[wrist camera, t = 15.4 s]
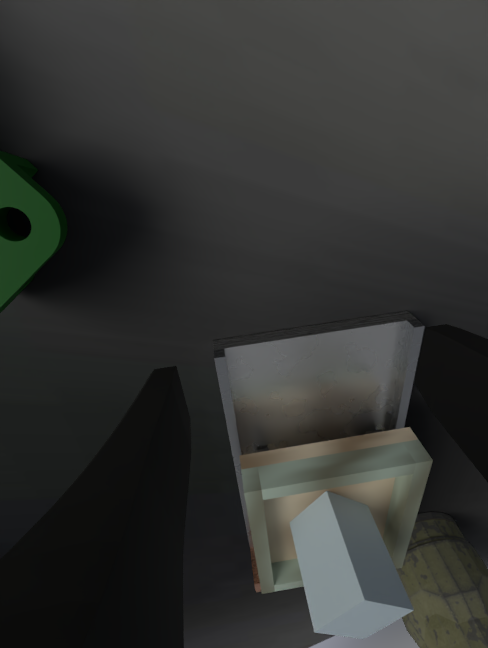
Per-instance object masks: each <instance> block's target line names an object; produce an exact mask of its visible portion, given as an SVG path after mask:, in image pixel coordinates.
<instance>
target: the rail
mask: <svg viewBox="0 0 488 648" xmlns="http://www.w3.org/2000/svg"><path fill="white" fill-rule="evenodd" d="M424 327H425V326H424V325H423V324H422V323H421V322H420V321H419V320H417V319H416V318H415V317H414V316H413V315H412V314H411V313H410V312H408V311H404V312H398V313H391V314H385V315H378V316H371V317H365V318H358V319H352V320H345V321H338V322H332V323H325V324H319V325H312V326H305V327H299V328H292V329H286V330H279V331H273V332H266V333H259V334H253V335H246V336H240V337H233V338H226V339H220V340H213V345H214V359H215V364H216V370H217V375H218V380H219V386H220V391H221V396H222V402H223V407H224V412H225V417H226V423H227V428H228V433H229V439H230V444H231V449H232V455H233V460H234V465H235V470H236V476H237V481H238V486H239V492H240V497H241V502H242V508H243V513H244V518H245V523H246V529H247V534H248V539H249V545H250V551H251V559H252V568H253V576H254V584H255V589H256V592H260V591H261V586H260V580H259V575H258V569H257V563H256V558H255V552H254V546H253V541H252V535H251V530H250V524H249V518H248V513H247V507H246V501H245V496H244V489H243V481H242V472H241V464H240V456H239V455H245V454H251V453H254V450H259V449H265V448H269V450H275V449H281V448H287V447H293V446H299V445H305V444H311V443H317V442H323V441H329V440H335V439H341V438H347V437H353V436H359V435H364V432H367V431H373V430H379V429H380V430H382V431H389V430H395V429H400V428H404V425H405V420H406V416H407V411H408V406H409V401H410V396H411V391H412V386H413V381H414V376H415V371H416V367H417V362H418V357H419V352H420V347H421V342H422V337H423V332H424Z"/></svg>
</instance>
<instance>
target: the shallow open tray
mask: <svg viewBox="0 0 488 648" xmlns="http://www.w3.org/2000/svg"><path fill="white" fill-rule="evenodd" d="M239 456H240V464H241V472H242V481H243V489H244V496H245V501H246V507H247V513H248V518H249V524H250V530H251V535H252V541H253V546H254V552H255V558H256V563H257V569H258V575H259V580H260V586H261V592H262V594H264V593H270V592H275V591H280V590H286V589H291V588H297V587H302V586H304V585H303V580H302V576H301V571H300V567H299V563H298V558H297V554H296V549H295V545H294V541H293V536H292V532H291V527H290V523H289V522H291V521H292V520H293V519H294V518H295V517H296V516H298V515H299V514H300V513H301V512H302V511H303V510H305V509H306V508H307V507H308V506H309V505H310V504H312V503H313V502H314V501H315V500H316V499H317V498H318V497H320V496H321V495H322V494H323V493H324V492H325V491H329V492H332V493H335V494H337V495H340V496H343V497H346V498H349V499H351V500H354V501H357V502H360V503H363V504H365V505H368V507H369V509H370V512H371V514H372V516H373V519H374V521H375V523H376V525H377V528H378V530H379V532H380V534H381V537H382V539H383V541H384V543H385V546H386V548H387V550H388V552H389V555H390V557H391V559H392V561H393V564H394V566H395V568H396V569H398V568H402V566H403V562H404V559H405V555H406V552H407V548H408V545H409V541H410V538H411V534H412V531H413V528H414V524H415V521H416V517H417V514H418V510H419V507H420V503H421V500H422V496H423V493H424V489H425V486H426V483H427V479H428V476H429V472H430V469H431V465H432V462H433V460H432V458H431V457H430V455H429V454H428V453H427V451H426V450H425V448H424V447H423V445H422V444H421V443H420V441H419V440H418V438H417V437H416V435H415V434H414V433H413V431H412V430H411V428H410V427H406V428H400V429H395V430H389V431H382V430H380V429H379V430H373V431H367V432H364V435H359V436H353V437H347V438H341V439H335V440H329V441H323V442H317V443H311V444H305V445H299V446H293V447H287V448H281V449H275V450H269V448H265V449H259V450H254V453H251V454H245V455H239Z"/></svg>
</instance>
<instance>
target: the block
mask: <svg viewBox="0 0 488 648" xmlns="http://www.w3.org/2000/svg"><path fill="white" fill-rule="evenodd" d="M289 523H290V527H291V532H292V536H293V541H294V545H295V549H296V554H297V558H298V563H299V567H300V571H301V576H302V580H303V585H304V589H305V593H306V598H307V602H308V607H309V611H310V615H311V620H312V624H313V629H314V632H316V633H323V634H330V635H337V636H344V637H352V638H359V639H365V638H367V637H368V636H370V635H372V634H374V633H375V632H377V631H379V630H381V629H382V628H384V627H386V626H388V625H389V624H391V623H393V622H395V621H396V620H398V619H400V618H402V617H403V616H405V615H407V614H408V613H410V612H412V611H414V609H413V606H412V604H411V602H410V600H409V597H408V595H407V593H406V591H405V588H404V586H403V584H402V582H401V579H400V577H399V575H398V573H397V570H396V568H395V566H394V564H393V561H392V559H391V557H390V555H389V552H388V550H387V548H386V546H385V543H384V541H383V539H382V537H381V534H380V532H379V530H378V528H377V525H376V523H375V521H374V519H373V516H372V514H371V512H370V509H369V507H368V505H365V504H363V503H360V502H357V501H354V500H351V499H349V498H346V497H343V496H340V495H337V494H335V493H332V492H329V491H325V492H324V493H323V494H322V495H321V496H320V497H318V498H317V499H316V500H315V501H314V502H313V503H312V504H310V505H309V506H308V507H307V508H306V509H305V510H303V511H302V512H301V513H300V514H299V515H298V516H296V517H295V518H294V519H293V520H292V521H291V522H289Z"/></svg>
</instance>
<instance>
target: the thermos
mask: <svg viewBox="0 0 488 648" xmlns="http://www.w3.org/2000/svg"><path fill="white" fill-rule="evenodd" d="M396 570H397V573H398V575H399V577H400V579H401V582H402V584H403V586H404V588H405V591H406V593H407V595H408V597H409V600H410V602H411V604H412V606H413V609H414V611H412V612H410V613H408V614H407V615H405V616H403V617H402V619H403V622H404V624H405V627H406V629H407V631H408V632H409V634H410V635H411V636H412V638H413V639H414V640H415V642H416V643H417V645H418V646H419V647H420V648H488V569H487V567H486V565H485V564H484V562H483V561H482V559H481V558H480V556H479V555H478V553H477V552H476V550H475V549H474V547H473V546H472V545H471V544H470V543H469V542H467V541H466V539H465V538H464V536H463V535H462V533H461V531H460V530H459V528H458V525H457V524H456V522H455V521H454V520H453V518H452V517H451V516H450V515H447V514H444V513H441V512H426V513H420V514H417V517H416V521H415V524H414V528H413V531H412V534H411V538H410V541H409V545H408V548H407V552H406V555H405V559H404V562H403V566H402V568H398V569H396Z"/></svg>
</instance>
